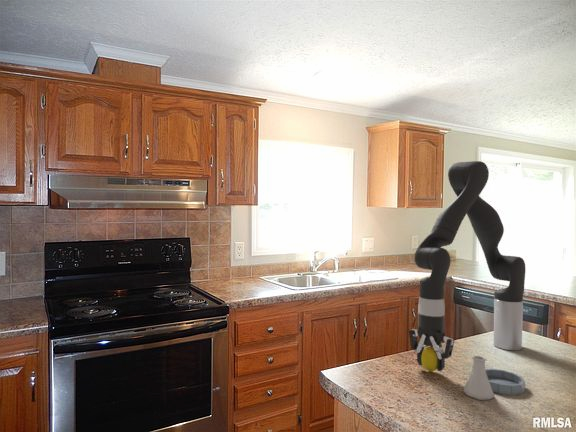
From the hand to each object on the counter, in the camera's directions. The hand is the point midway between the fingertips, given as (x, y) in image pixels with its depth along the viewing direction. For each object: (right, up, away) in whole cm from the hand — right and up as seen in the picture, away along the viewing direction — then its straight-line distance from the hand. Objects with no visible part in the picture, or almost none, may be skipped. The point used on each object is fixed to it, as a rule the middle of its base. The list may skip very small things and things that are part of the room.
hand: (430, 367), depth 124 cm
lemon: (0, -2, 0) cm, 2 cm away
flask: (+8, -2, -15) cm, 17 cm away
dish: (+17, -2, -9) cm, 19 cm away
